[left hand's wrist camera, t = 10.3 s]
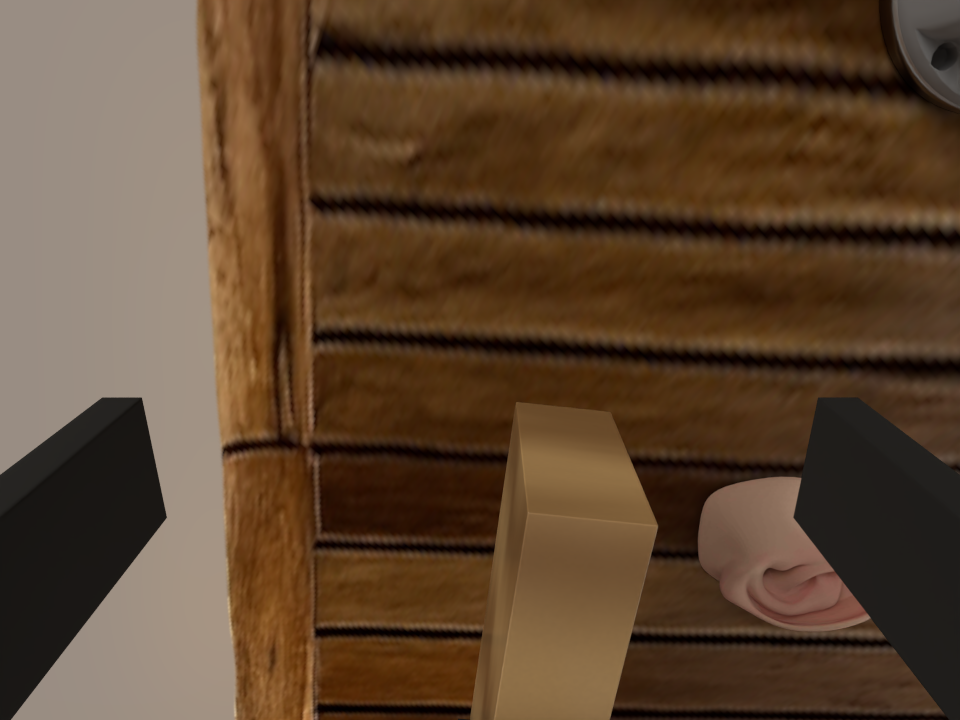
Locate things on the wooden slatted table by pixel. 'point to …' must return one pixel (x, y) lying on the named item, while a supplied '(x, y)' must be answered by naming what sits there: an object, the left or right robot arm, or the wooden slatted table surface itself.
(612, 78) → the wooden slatted table surface
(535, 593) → the bar
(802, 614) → the anatomical model
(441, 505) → the wooden slatted table surface
